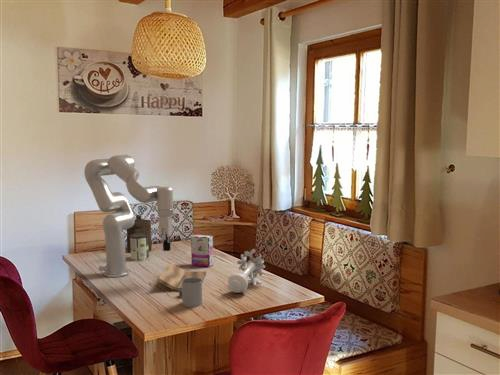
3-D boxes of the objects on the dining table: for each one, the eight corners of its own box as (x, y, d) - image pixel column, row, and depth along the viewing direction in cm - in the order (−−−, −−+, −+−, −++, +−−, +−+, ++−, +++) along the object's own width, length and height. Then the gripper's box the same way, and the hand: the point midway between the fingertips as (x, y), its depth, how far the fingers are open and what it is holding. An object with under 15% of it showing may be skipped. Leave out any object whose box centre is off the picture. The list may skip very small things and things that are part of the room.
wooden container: (156, 248, 324) (155, 213, 322) (142, 253, 311) (141, 217, 309) (136, 246, 330) (135, 212, 328) (122, 251, 317) (120, 216, 315)
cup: (183, 300, 224) (182, 278, 223) (202, 299, 225) (201, 277, 224) (182, 307, 216) (181, 283, 215) (202, 306, 216) (201, 283, 215)
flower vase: (246, 309, 232) (266, 280, 254) (248, 274, 225) (269, 248, 246) (220, 300, 237) (242, 273, 258) (221, 266, 229) (244, 241, 251)
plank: (157, 280, 237) (158, 278, 237) (169, 265, 265) (170, 262, 265) (174, 290, 238) (176, 287, 237) (184, 273, 265) (185, 271, 265)
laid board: (176, 291, 238) (176, 287, 237) (186, 274, 265) (186, 271, 265) (198, 291, 237) (198, 287, 237) (205, 274, 265) (205, 271, 265)
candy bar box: (213, 265, 283) (213, 235, 281) (209, 267, 279) (209, 237, 277) (195, 263, 287) (194, 234, 286) (191, 265, 283) (190, 235, 281)
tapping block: (182, 298, 228) (182, 292, 227) (179, 296, 231) (179, 289, 231) (199, 295, 232) (199, 289, 231) (195, 293, 235) (195, 286, 235)
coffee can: (139, 256, 306) (138, 232, 304) (152, 258, 300) (152, 234, 299) (126, 259, 297) (125, 235, 295) (140, 262, 291) (139, 237, 290)
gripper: (160, 210, 256) (162, 247, 257) (154, 215, 241) (155, 254, 243) (176, 210, 255) (177, 247, 257) (170, 215, 240) (171, 253, 242)
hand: (167, 250), depth 250 cm, fingers closed
